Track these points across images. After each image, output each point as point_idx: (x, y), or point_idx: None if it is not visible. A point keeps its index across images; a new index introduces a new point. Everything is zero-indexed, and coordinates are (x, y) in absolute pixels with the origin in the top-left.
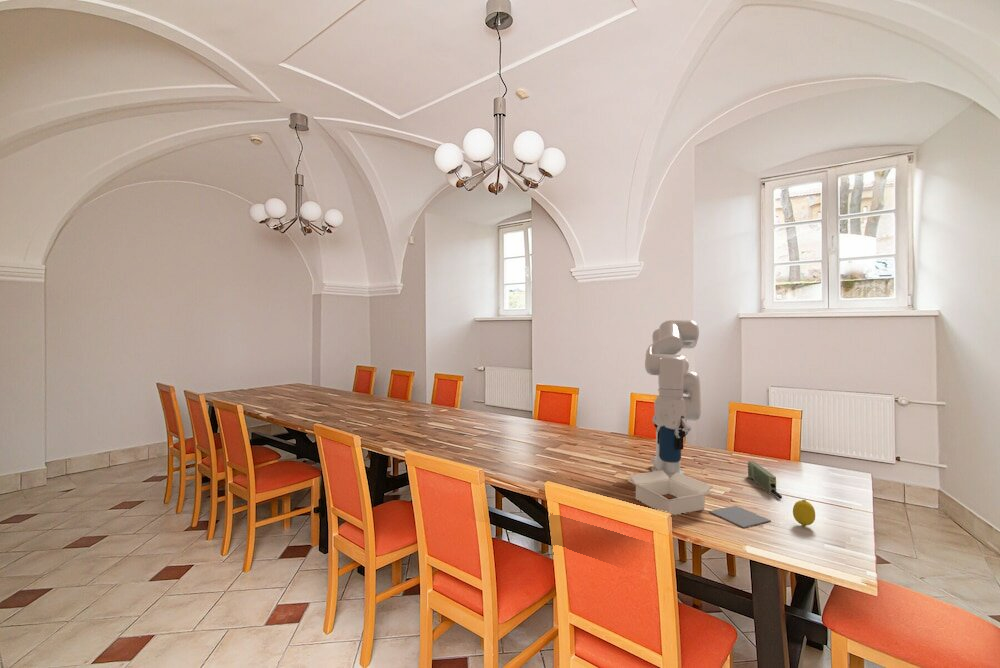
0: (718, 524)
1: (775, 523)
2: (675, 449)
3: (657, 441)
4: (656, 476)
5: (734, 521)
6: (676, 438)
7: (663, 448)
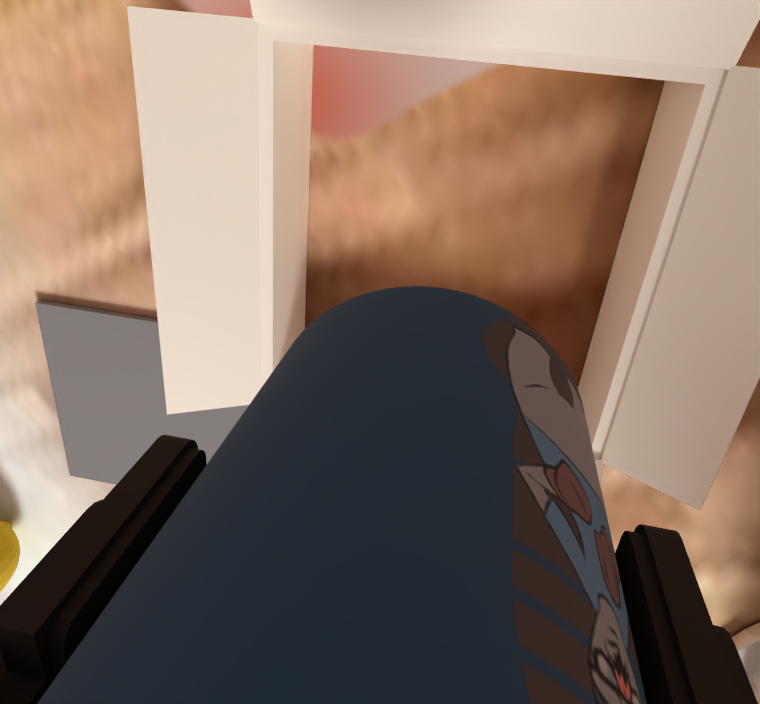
0: (108, 226)
1: (55, 468)
2: (180, 439)
3: (688, 559)
4: (679, 381)
5: (99, 325)
6: (5, 622)
7: (384, 359)
